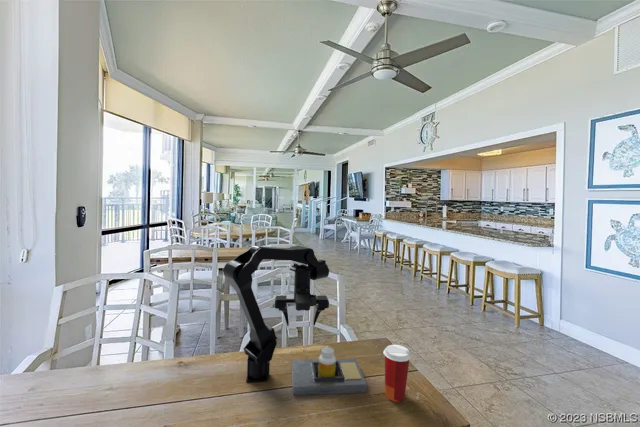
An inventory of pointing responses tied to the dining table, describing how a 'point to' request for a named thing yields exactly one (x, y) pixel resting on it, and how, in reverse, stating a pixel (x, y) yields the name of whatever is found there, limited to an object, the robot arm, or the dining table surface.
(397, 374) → the paper cup
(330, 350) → the supplement bottle
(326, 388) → the grey base block
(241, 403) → the dining table surface
